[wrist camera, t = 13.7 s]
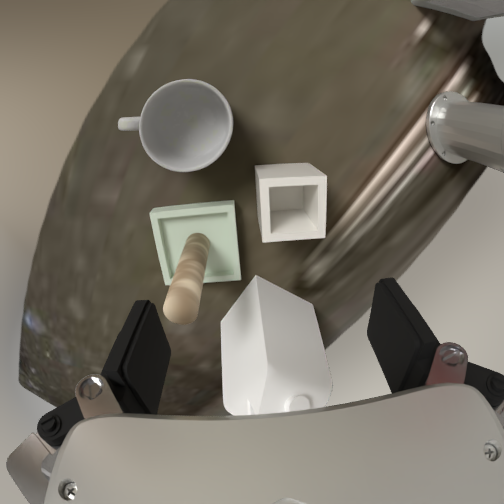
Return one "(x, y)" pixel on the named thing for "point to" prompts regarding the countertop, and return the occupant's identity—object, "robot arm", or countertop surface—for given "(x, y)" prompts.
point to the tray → (205, 222)
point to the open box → (291, 201)
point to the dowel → (188, 281)
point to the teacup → (183, 125)
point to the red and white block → (465, 7)
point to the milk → (272, 353)
